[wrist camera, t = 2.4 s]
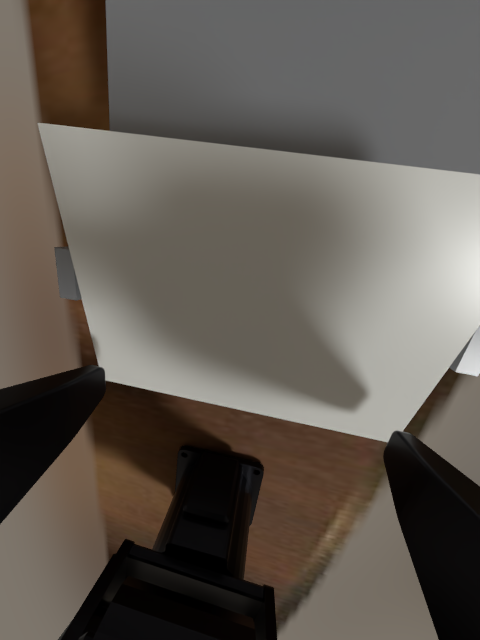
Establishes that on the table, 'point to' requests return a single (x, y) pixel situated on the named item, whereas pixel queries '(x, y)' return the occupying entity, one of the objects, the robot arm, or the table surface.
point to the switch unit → (301, 83)
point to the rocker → (269, 274)
